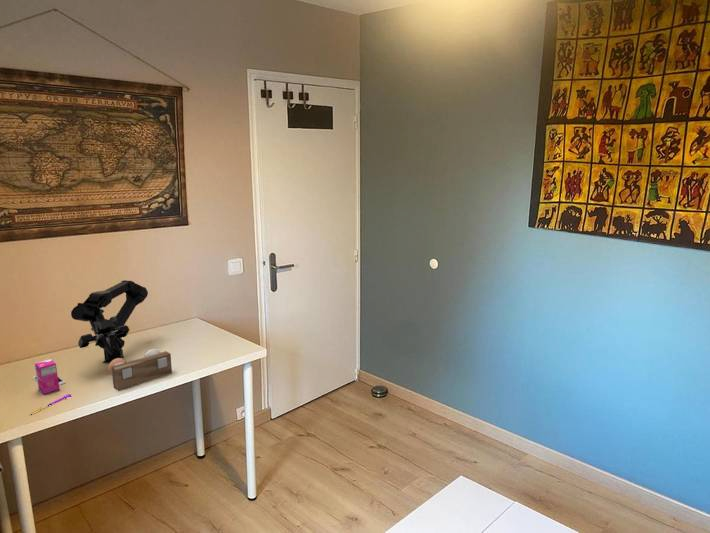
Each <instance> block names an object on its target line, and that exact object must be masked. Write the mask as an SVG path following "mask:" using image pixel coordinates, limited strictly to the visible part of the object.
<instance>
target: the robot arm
mask: <svg viewBox="0 0 710 533" xmlns="http://www.w3.org/2000/svg"><path fill="white" fill-rule="evenodd" d="M124 293H125V301H124V302H123V305H122V306H121V307H120V309H119V310H118V312H117V313H116V315H114V316H111V317H110V318H109V319H107V318H106V317H105V316H104V314H103V313H105V311H104V309H102V308H107V307H108V306H109V305H110V304H111V303H112V300H113V299H116V298H117V297H119V296H121V295H124ZM148 293H149V292H148V290H147V288H146V287H145V286H142V285H140V284H138V283H135V282H134V281H133V280H128V279H127V280H126V279H125V280H123V279H122V280H121V281H120V282H119V283H116V284H115V285H113V286H111V287H109V288H106V289H105V290H104V289H103V290H100V291H99V290H98V291H94V292H90V294H89V295H88V297H87V298H85V300H84V301H83V302H78V303H77V305H76V306H75V307H73V308H72V309H71V311H70V312H71V313H70V316H71V318H72V319H73V320H75V321H81V322H89V325H90V329H91V332H93V334H94V335H92V334H91V333H88V334H83V335H81V336H80V338H79V339H78V344H77V345H78V348H80V349H83V348H86V347H89V345H90V343H91V342H95V344H94V345H95V347H100V349H103V355H104V360H103V362H102V363H103V364H110V362H111V361H112V360H114V359H116V358H122V359H124V358H125V357H124V350H123V348H124V347H125V343H126V342H125V340H124V339H122V338H125V337H127V336H128V334H129V332H130V327H129V326H128V325H127V324H126V323H127V321H128V320H129V319H130V317H131V315H132V313H133V312H134V310H135V309H136V307H137V306H138V305H140V304H142V303H143V302H144V301H145V300H146V299H147V297H148V295H149V294H148Z"/></svg>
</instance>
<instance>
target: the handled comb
mask: <svg viewBox="0 0 710 533" xmlns="http://www.w3.org/2000/svg"><path fill="white" fill-rule="evenodd" d="M70 396H71V397H72V394H71V393H68V394H66V395H64V396H62V397H60V398H58V399H56V400H54V401H52V402H50V403H48V404H47V406H48V407H50V406H49V405H51V406H53V405H52V404H54V403H56V402H58V401H60V400H62V399H64V398H67V397H70ZM64 400H65V399H64ZM62 401H63V400H62ZM60 402H61V401H60ZM58 403H59V402H58ZM56 404H57V403H56ZM54 405H55V404H54ZM42 408H43V407H40V408H38V409H36V410H34V411H31V413H34V412H36V411H38V410H41V409H42Z"/></svg>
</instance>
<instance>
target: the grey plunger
mask: <svg viewBox="0 0 710 533" xmlns="http://www.w3.org/2000/svg"><path fill="white" fill-rule="evenodd" d="M157 353H161V351H160V350H158V349H156V348H151V349H149V350H147V351H146V353H145V354H144V356H143V357H147V356H150V355H154V354H157ZM156 361H157V368H158V369H160V368H163V367H166V366H167V358H166V357H162V358H159V359H156Z"/></svg>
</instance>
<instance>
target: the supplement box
mask: <svg viewBox="0 0 710 533" xmlns="http://www.w3.org/2000/svg"><path fill="white" fill-rule="evenodd" d="M34 369H35V376H37V381H36V382H37V389H38V391H39V392H40V393H41V394H42V396H45V395H49V394H52V392H53V393H55V392H59V391H60V390H61V389H60V385H59V381H58V377H59V375H58V370H57V363H56V362H55V361H54V360H52V359H51V358H48V359H46V360H42V361H37V362H34Z"/></svg>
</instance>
